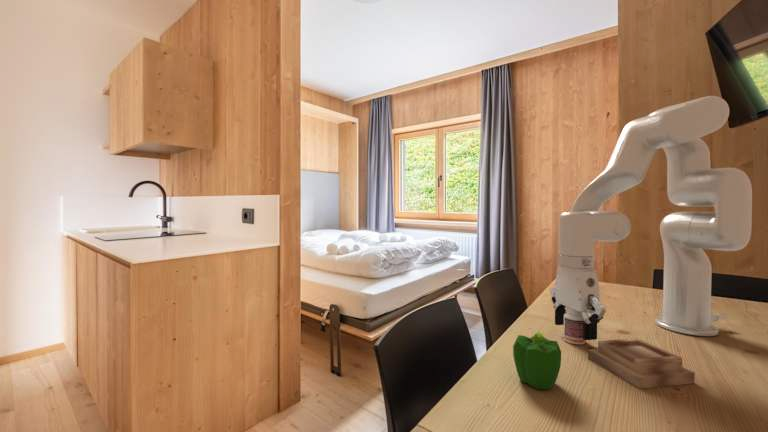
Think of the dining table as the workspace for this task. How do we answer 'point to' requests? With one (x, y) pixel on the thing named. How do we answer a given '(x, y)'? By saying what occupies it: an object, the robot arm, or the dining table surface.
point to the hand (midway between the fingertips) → (574, 331)
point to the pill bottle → (573, 327)
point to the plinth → (641, 363)
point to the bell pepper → (537, 360)
